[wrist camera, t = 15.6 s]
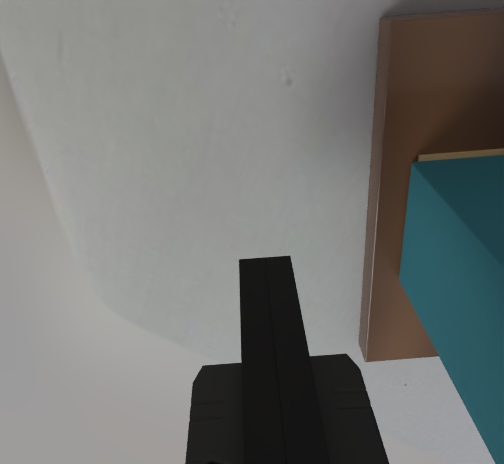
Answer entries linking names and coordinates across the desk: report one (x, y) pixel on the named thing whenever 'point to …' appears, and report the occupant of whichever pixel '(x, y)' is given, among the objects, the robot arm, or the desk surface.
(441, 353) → the teal block
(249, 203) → the desk surface
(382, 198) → the wooden stand
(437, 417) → the desk surface
